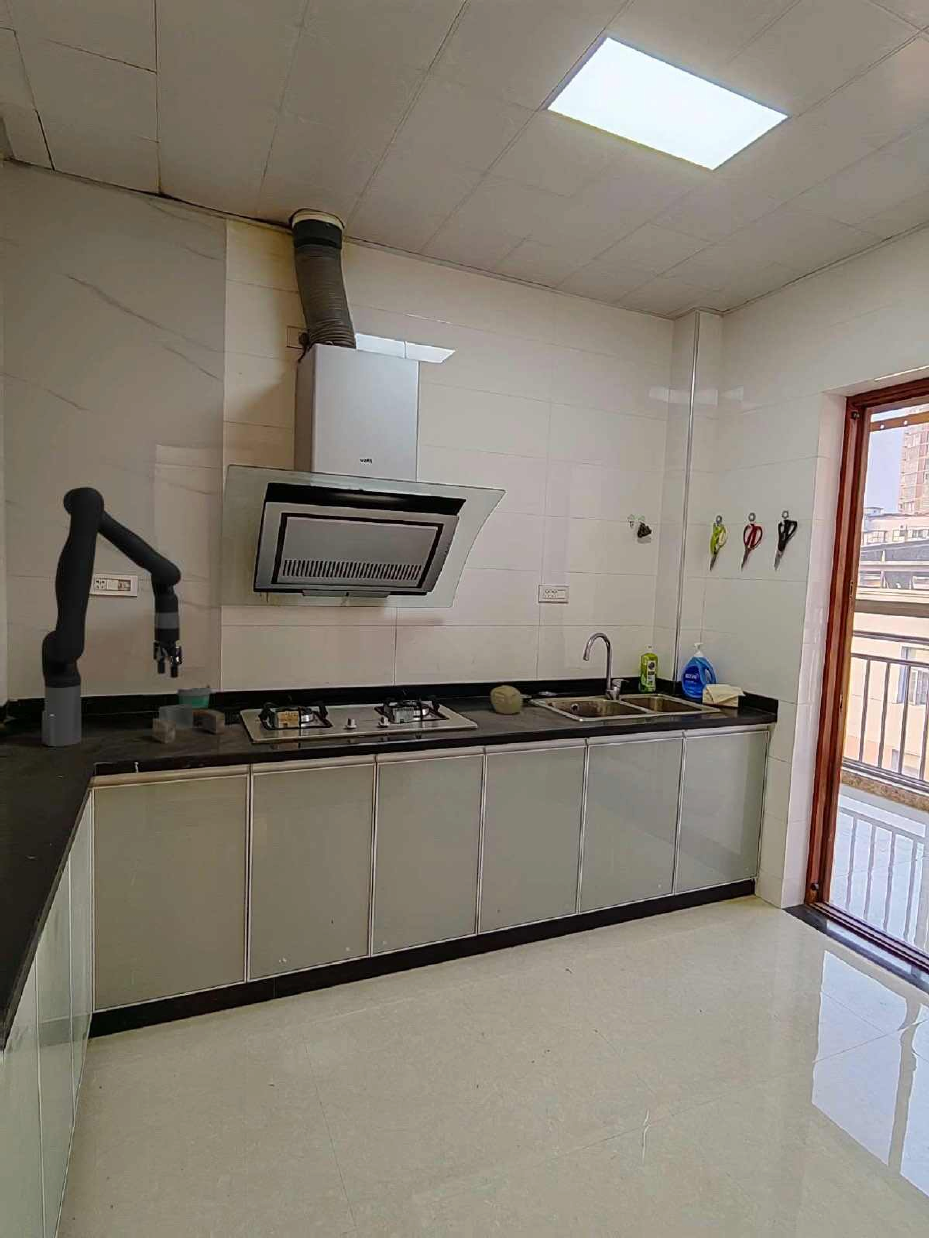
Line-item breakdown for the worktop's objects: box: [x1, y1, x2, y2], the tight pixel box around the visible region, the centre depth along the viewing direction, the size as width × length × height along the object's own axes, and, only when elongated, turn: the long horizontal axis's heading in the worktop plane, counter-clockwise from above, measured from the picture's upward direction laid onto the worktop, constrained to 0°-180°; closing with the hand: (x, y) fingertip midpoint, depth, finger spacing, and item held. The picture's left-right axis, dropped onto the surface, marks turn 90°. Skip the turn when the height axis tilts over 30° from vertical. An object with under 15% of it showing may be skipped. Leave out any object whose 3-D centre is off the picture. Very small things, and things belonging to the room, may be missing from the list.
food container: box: [176, 684, 212, 719], centre depth 244 cm, size 12×6×10 cm, turn 143°
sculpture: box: [490, 684, 524, 715], centre depth 274 cm, size 11×12×11 cm
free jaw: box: [201, 709, 226, 735], centre depth 225 cm, size 3×8×6 cm, turn 49°
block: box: [158, 704, 194, 730], centre depth 228 cm, size 9×5×7 cm, turn 139°
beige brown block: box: [152, 717, 177, 744], centre depth 213 cm, size 3×8×6 cm, turn 49°
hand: (167, 675), depth 225 cm, fingers open, 8 cm apart
